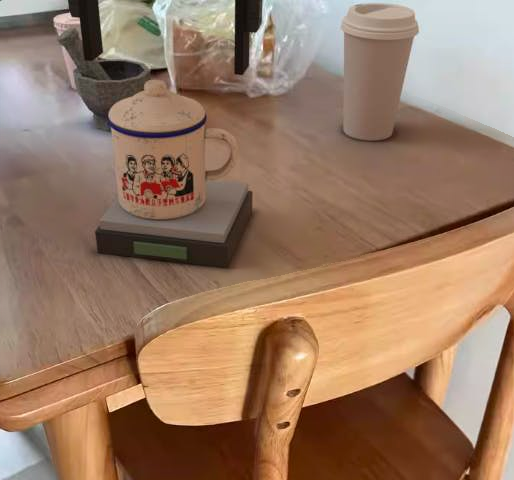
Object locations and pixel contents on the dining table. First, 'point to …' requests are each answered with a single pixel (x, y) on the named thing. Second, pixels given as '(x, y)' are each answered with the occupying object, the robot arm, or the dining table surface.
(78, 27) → the smoothie
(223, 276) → the dining table surface
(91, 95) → the mortar and pestle
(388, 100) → the coffee cup
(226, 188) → the scale
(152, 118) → the teacup with lid
